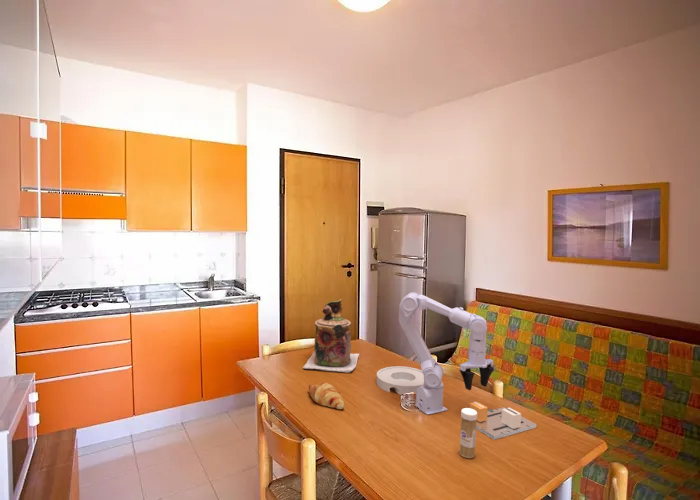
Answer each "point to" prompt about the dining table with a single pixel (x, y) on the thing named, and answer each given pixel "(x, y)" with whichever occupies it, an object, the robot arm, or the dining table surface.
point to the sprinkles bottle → (468, 432)
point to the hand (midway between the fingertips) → (476, 387)
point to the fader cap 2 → (511, 418)
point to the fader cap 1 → (480, 411)
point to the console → (501, 425)
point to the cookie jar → (332, 342)
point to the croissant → (326, 395)
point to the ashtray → (400, 379)
